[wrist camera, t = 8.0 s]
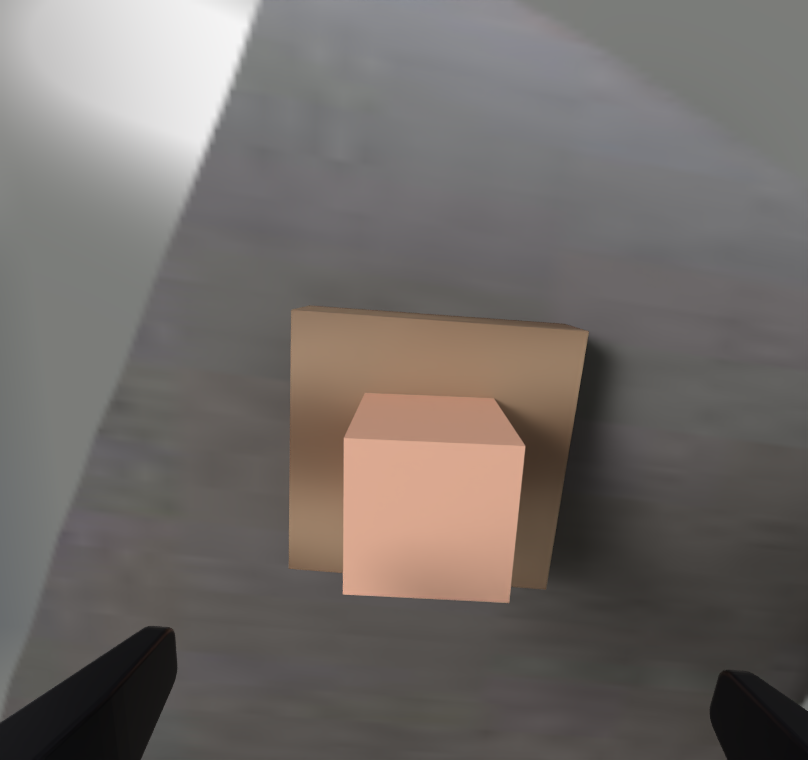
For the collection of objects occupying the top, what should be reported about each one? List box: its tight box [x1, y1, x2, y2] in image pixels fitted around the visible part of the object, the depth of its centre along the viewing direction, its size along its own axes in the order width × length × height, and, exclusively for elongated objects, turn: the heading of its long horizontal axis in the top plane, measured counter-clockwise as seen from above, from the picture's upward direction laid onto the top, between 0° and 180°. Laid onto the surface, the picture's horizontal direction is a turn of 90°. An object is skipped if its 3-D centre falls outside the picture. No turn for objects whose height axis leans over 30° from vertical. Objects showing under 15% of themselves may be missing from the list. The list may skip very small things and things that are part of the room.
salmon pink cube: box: [343, 393, 525, 603], centre depth 13 cm, size 4×4×4 cm
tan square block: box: [289, 306, 589, 589], centre depth 17 cm, size 10×10×3 cm
